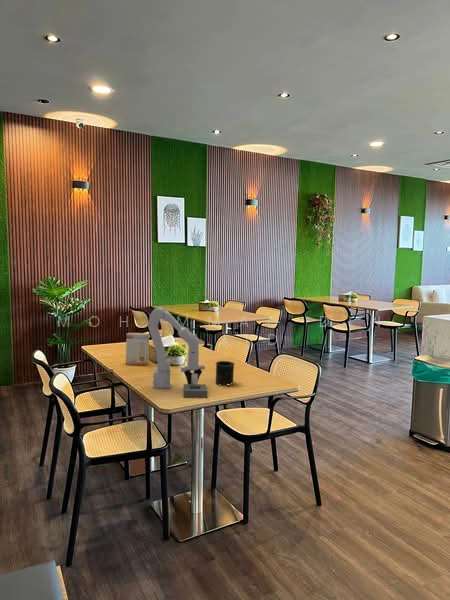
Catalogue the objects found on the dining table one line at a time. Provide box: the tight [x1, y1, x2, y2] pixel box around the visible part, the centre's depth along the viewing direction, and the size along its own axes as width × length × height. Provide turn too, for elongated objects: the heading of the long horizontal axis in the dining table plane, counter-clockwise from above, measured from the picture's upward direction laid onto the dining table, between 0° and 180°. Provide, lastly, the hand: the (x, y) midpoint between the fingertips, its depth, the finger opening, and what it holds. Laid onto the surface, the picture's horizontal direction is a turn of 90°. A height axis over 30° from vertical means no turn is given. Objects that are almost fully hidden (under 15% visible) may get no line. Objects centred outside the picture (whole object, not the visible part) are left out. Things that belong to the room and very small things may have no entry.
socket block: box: [183, 383, 208, 398], centre depth 238 cm, size 12×12×4 cm
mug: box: [215, 360, 235, 386], centre depth 261 cm, size 11×15×12 cm
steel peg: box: [191, 371, 199, 384], centre depth 249 cm, size 4×4×8 cm
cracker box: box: [125, 332, 150, 367], centre depth 296 cm, size 14×6×21 cm, turn 84°
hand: (192, 383), depth 249 cm, fingers closed on steel peg, 4 cm apart
